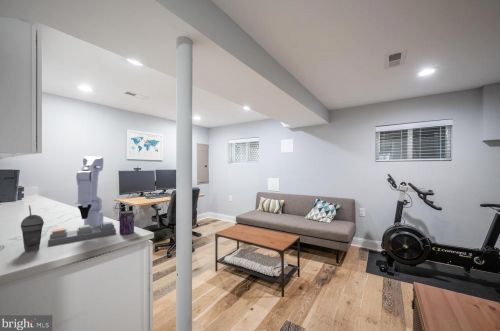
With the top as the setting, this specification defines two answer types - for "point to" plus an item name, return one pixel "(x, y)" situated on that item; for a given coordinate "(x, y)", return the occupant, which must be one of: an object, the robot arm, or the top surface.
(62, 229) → the terracotta button
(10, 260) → the top surface
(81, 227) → the sage button
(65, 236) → the button panel
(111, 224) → the slate button
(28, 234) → the beverage cup
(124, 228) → the beverage can
